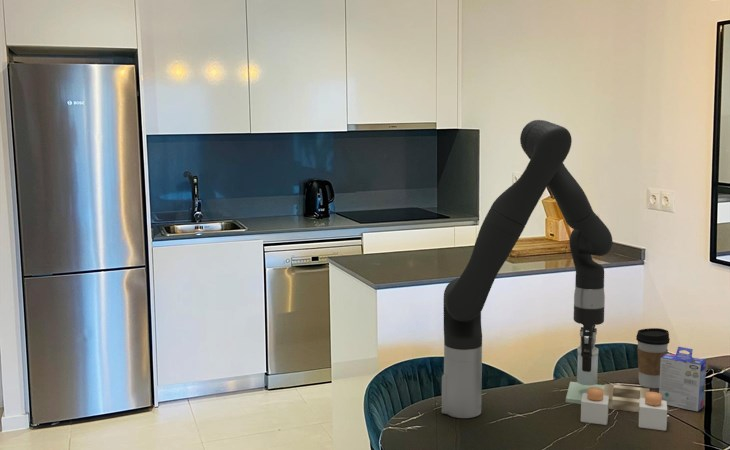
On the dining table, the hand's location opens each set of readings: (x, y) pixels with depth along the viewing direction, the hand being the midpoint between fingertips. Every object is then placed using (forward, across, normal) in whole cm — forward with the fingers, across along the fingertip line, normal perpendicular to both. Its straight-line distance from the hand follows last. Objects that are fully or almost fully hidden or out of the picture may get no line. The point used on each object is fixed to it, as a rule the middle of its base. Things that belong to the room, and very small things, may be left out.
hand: (587, 367), depth 191 cm
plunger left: (+6, -15, -3) cm, 16 cm away
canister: (+4, 0, 0) cm, 4 cm away
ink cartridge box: (+8, +1, -23) cm, 24 cm away
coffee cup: (+8, +14, -16) cm, 23 cm away
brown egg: (+6, -14, -16) cm, 22 cm away
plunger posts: (+8, -14, -9) cm, 19 cm away
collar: (+8, -2, -10) cm, 13 cm away
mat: (+8, 0, 0) cm, 8 cm away
